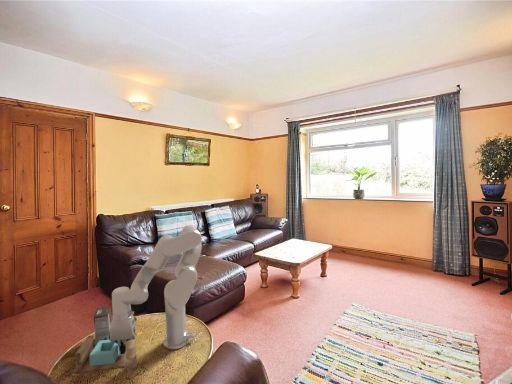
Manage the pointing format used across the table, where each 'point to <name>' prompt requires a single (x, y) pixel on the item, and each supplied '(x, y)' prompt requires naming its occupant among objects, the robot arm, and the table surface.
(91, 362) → the hole block
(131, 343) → the dowel
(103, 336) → the coffee box
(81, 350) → the backstop board
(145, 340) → the table surface
